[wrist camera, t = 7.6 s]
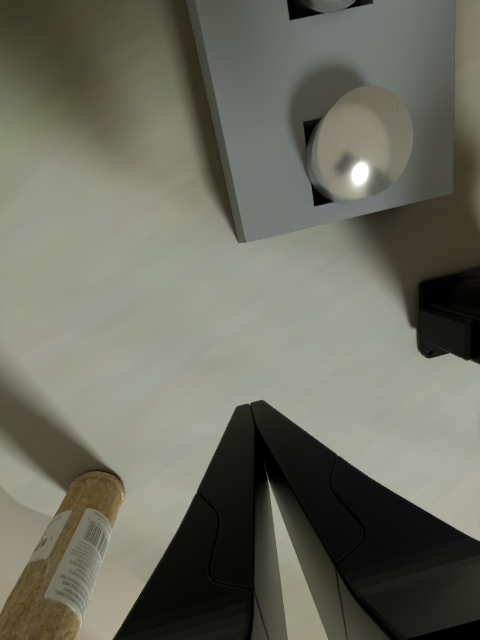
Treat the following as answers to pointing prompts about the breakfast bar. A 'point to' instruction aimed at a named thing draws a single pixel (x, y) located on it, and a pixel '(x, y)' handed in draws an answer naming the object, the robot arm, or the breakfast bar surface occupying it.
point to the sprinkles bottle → (64, 563)
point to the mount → (320, 99)
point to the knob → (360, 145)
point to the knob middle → (315, 7)
